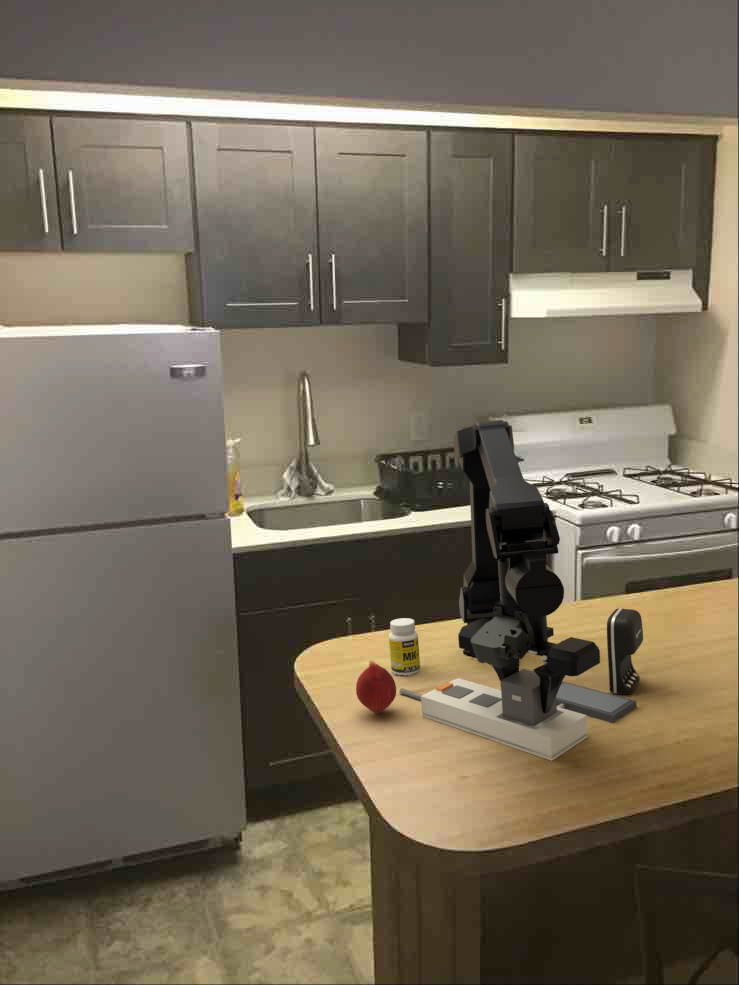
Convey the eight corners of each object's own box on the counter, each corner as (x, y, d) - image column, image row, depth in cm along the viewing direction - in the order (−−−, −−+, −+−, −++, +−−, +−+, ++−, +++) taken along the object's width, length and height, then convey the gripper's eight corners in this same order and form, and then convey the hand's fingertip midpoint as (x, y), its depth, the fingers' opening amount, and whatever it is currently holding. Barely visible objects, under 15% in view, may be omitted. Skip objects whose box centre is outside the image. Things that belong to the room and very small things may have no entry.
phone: (512, 716, 117) (511, 709, 117) (563, 687, 125) (562, 680, 125) (587, 740, 108) (587, 732, 108) (636, 707, 116) (636, 700, 116)
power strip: (381, 701, 126) (379, 680, 125) (418, 684, 131) (416, 663, 131) (551, 760, 104) (550, 734, 103) (587, 736, 109) (586, 712, 108)
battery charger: (635, 698, 119) (632, 621, 117) (608, 694, 121) (605, 618, 119) (646, 679, 125) (643, 606, 123) (620, 676, 127) (617, 604, 125)
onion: (403, 705, 124) (398, 654, 123) (391, 722, 118) (386, 669, 117) (366, 703, 126) (361, 652, 124) (352, 720, 120) (347, 667, 119)
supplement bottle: (405, 678, 134) (401, 628, 133) (385, 672, 138) (381, 623, 136) (426, 669, 137) (422, 620, 136) (406, 663, 141) (402, 615, 139)
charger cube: (525, 703, 114) (523, 668, 113) (556, 712, 110) (554, 676, 109) (502, 716, 110) (500, 680, 110) (533, 726, 107) (531, 689, 106)
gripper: (426, 598, 109) (435, 711, 112) (546, 623, 95) (553, 751, 98) (481, 577, 116) (488, 683, 119) (599, 597, 103) (605, 717, 105)
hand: (529, 707), depth 110 cm, fingers closed on charger cube, 5 cm apart
